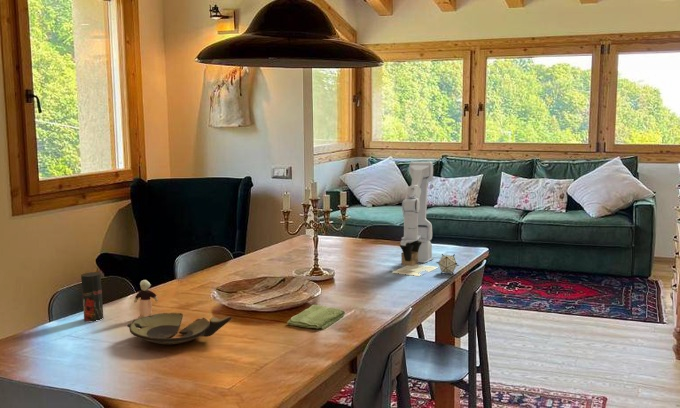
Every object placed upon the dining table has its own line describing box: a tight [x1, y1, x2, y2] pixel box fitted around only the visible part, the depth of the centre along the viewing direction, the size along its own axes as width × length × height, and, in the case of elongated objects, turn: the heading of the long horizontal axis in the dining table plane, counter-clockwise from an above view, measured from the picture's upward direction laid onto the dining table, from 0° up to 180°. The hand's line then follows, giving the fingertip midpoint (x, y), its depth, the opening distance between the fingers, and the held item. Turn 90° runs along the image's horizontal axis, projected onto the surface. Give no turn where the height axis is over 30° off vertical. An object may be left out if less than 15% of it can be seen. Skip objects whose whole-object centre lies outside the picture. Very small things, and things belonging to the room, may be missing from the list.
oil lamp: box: [126, 312, 233, 345], centre depth 194 cm, size 22×30×8 cm
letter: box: [391, 264, 440, 277], centre depth 278 cm, size 18×13×1 cm
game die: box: [436, 253, 460, 275], centre depth 271 cm, size 9×8×10 cm
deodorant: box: [80, 271, 104, 322], centre depth 216 cm, size 6×6×15 cm
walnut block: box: [400, 251, 419, 266], centre depth 277 cm, size 5×5×5 cm
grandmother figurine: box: [133, 279, 159, 319], centre depth 217 cm, size 8×4×13 cm, turn 105°
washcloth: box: [286, 304, 346, 331], centre depth 212 cm, size 13×18×3 cm
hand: (410, 259), depth 277 cm, fingers closed on walnut block, 5 cm apart
